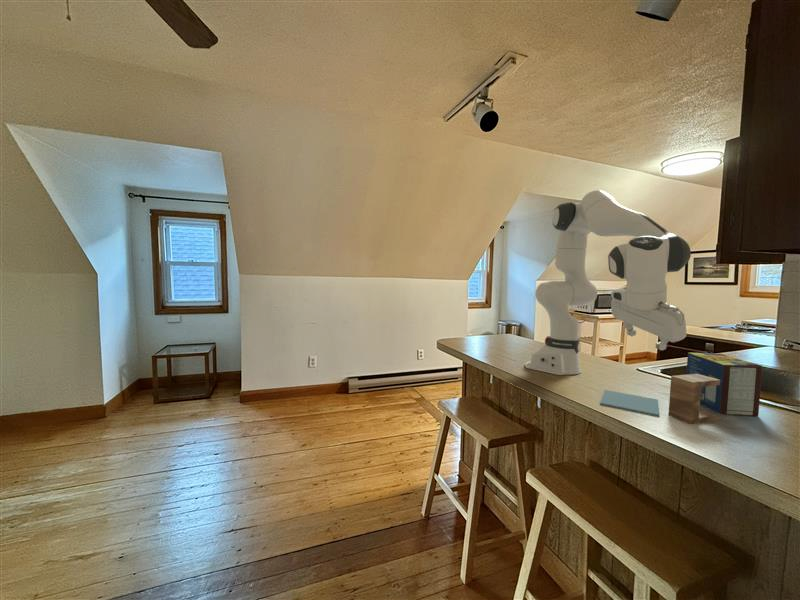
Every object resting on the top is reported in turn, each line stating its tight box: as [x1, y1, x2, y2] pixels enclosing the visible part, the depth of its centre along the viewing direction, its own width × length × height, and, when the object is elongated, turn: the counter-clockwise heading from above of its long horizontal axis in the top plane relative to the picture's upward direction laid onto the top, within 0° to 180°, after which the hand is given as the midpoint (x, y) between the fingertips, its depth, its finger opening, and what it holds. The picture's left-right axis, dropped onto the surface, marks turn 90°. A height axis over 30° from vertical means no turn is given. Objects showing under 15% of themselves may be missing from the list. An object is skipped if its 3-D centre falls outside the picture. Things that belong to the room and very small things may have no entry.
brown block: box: [668, 374, 720, 425], centre depth 96 cm, size 10×6×12 cm, turn 103°
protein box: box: [685, 352, 763, 417], centre depth 105 cm, size 10×15×16 cm
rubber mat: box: [599, 389, 660, 418], centre depth 107 cm, size 15×15×1 cm
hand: (645, 341), depth 93 cm, fingers open, 8 cm apart
